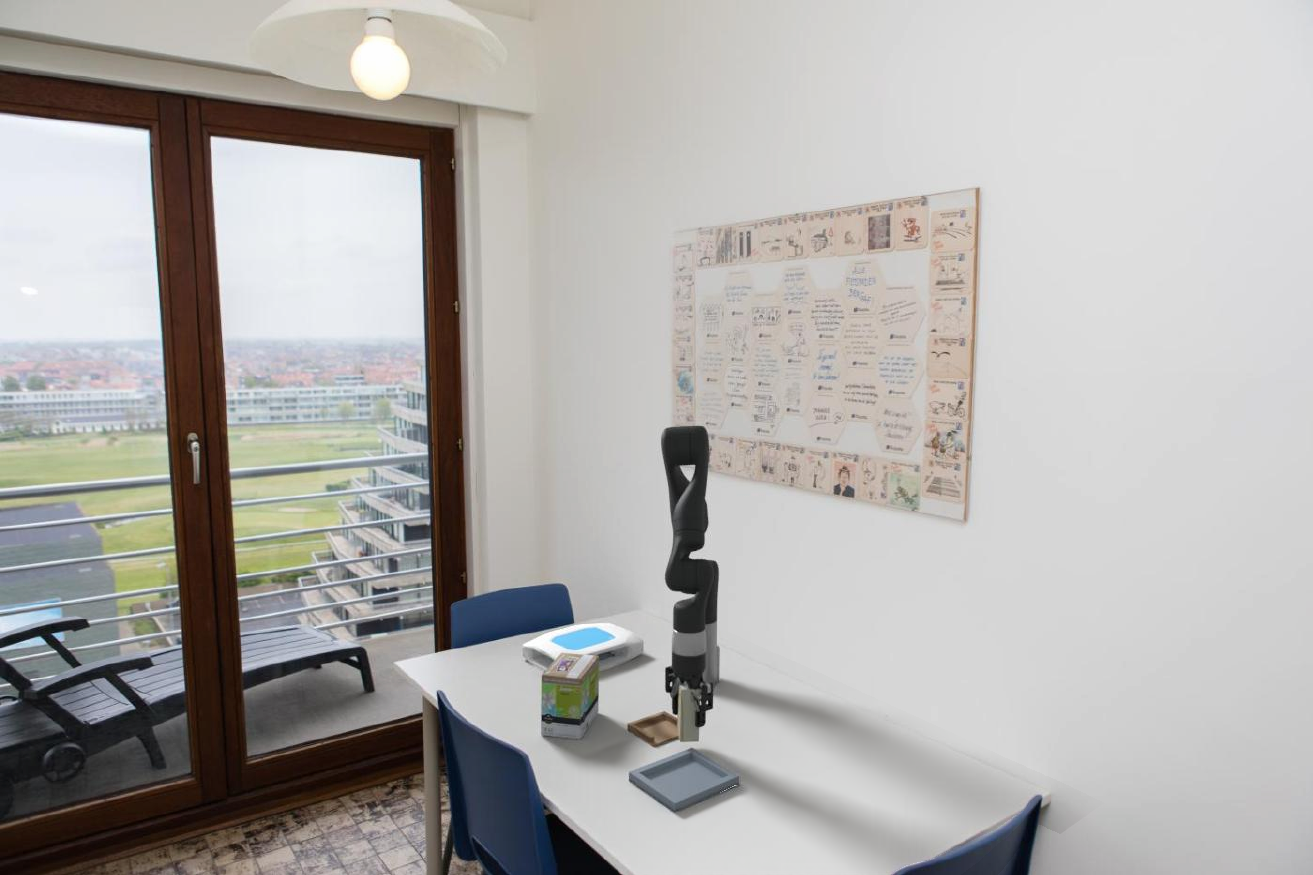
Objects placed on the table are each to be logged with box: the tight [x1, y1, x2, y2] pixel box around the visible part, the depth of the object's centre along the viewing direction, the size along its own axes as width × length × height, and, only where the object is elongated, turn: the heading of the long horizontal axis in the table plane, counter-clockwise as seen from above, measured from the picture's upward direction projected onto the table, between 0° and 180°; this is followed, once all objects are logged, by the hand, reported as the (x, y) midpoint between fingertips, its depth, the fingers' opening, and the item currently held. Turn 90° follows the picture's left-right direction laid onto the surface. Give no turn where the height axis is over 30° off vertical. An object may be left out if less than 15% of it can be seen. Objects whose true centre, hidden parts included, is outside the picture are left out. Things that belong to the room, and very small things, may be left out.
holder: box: [626, 711, 679, 748], centre depth 196 cm, size 11×10×2 cm
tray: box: [628, 747, 740, 814], centre depth 174 cm, size 17×15×2 cm
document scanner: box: [522, 622, 644, 672], centre depth 241 cm, size 21×28×6 cm
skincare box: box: [677, 683, 701, 743], centre depth 187 cm, size 6×4×12 cm
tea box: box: [540, 653, 600, 740], centre depth 200 cm, size 15×10×15 cm
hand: (688, 719), depth 187 cm, fingers closed on skincare box, 7 cm apart
